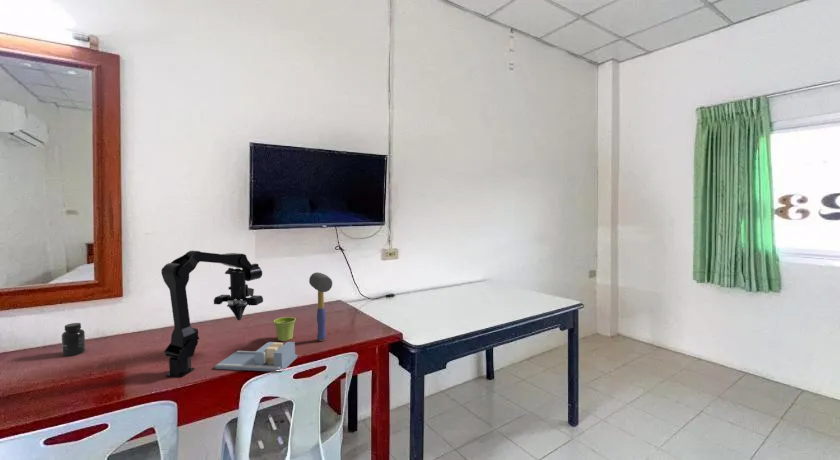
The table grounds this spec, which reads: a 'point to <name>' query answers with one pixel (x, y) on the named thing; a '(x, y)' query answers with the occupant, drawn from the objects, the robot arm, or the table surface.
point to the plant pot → (284, 328)
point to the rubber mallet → (321, 300)
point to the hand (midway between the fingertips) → (239, 320)
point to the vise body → (247, 360)
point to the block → (272, 352)
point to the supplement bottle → (73, 340)
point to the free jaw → (262, 354)
